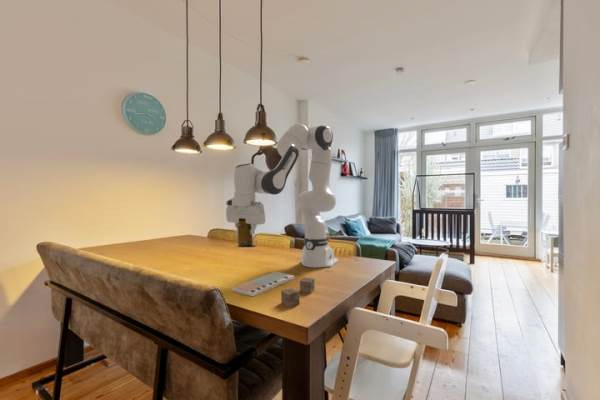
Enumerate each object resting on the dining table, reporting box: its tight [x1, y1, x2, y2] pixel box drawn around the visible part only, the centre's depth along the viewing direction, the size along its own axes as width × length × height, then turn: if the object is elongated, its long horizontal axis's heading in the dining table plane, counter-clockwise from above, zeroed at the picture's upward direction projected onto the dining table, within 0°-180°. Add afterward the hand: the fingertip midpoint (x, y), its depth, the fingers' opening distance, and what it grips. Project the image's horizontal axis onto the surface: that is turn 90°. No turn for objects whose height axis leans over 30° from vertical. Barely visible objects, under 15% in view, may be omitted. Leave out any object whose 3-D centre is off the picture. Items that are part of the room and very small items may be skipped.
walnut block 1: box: [280, 287, 300, 308], centre depth 98 cm, size 4×4×4 cm
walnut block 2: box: [299, 277, 316, 294], centre depth 111 cm, size 4×4×4 cm
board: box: [231, 271, 295, 297], centre depth 119 cm, size 26×11×2 cm, turn 146°
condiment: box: [235, 218, 260, 248], centre depth 122 cm, size 7×8×12 cm
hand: (245, 233), depth 122 cm, fingers closed on condiment, 6 cm apart
